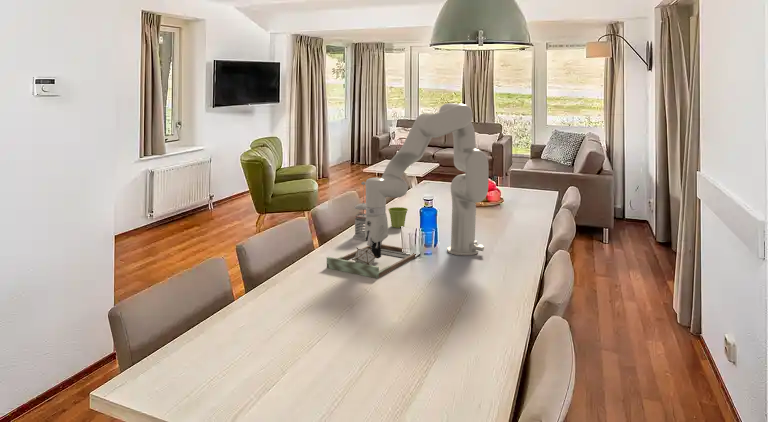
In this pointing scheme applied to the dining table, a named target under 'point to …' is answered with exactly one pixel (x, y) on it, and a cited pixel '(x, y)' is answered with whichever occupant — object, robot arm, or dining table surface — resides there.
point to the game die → (364, 256)
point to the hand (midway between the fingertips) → (376, 257)
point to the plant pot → (397, 216)
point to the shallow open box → (366, 269)
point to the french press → (360, 220)
